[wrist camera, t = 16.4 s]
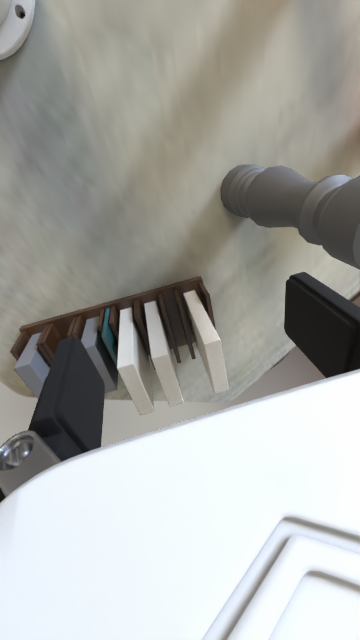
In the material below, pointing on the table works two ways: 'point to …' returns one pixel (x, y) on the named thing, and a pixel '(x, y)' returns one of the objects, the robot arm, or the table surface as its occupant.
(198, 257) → the table surface
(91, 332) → the grey book
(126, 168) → the table surface
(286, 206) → the candle holder
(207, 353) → the white book
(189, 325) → the book rack
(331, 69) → the table surface
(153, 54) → the table surface
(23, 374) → the grey book
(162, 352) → the white book
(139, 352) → the white book
